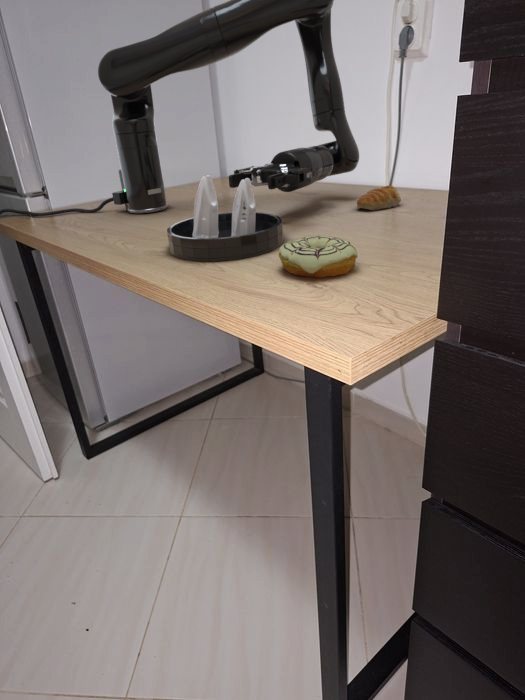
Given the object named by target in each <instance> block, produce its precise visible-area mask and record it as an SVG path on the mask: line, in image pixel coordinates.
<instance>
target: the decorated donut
mask: <svg viewBox="0 0 525 700" xmlns="http://www.w3.org/2000/svg"><path fill="white" fill-rule="evenodd" d="M278 257H279V260H280V262H281V264H282V267H283V268H284V269H285V270H286V271H287V272H289V273H290V274H293V275H294V276H301V277H307V276H308V277H310V278H315V277H316V278H318V279H321V278H322V279H323V278H325V277H336V276H338V275H345V274H347V273H348V272H349V271H350V270H352V269H353V267H355V266H356V264H355V263H356V261H357V258H358V257H359V254H358V250H357V248H356V246H355V245H354V244H353V243H352V242H351V241H348V240H346V239H343V238H340V237H335V236H328V235H313V236H312V235H311V236H310V235H308V236H302V237H300V238H299V237H298V238H296V239H293V240H290V241H288V242H285V243H282V244H281V246H279V249H278Z"/></svg>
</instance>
